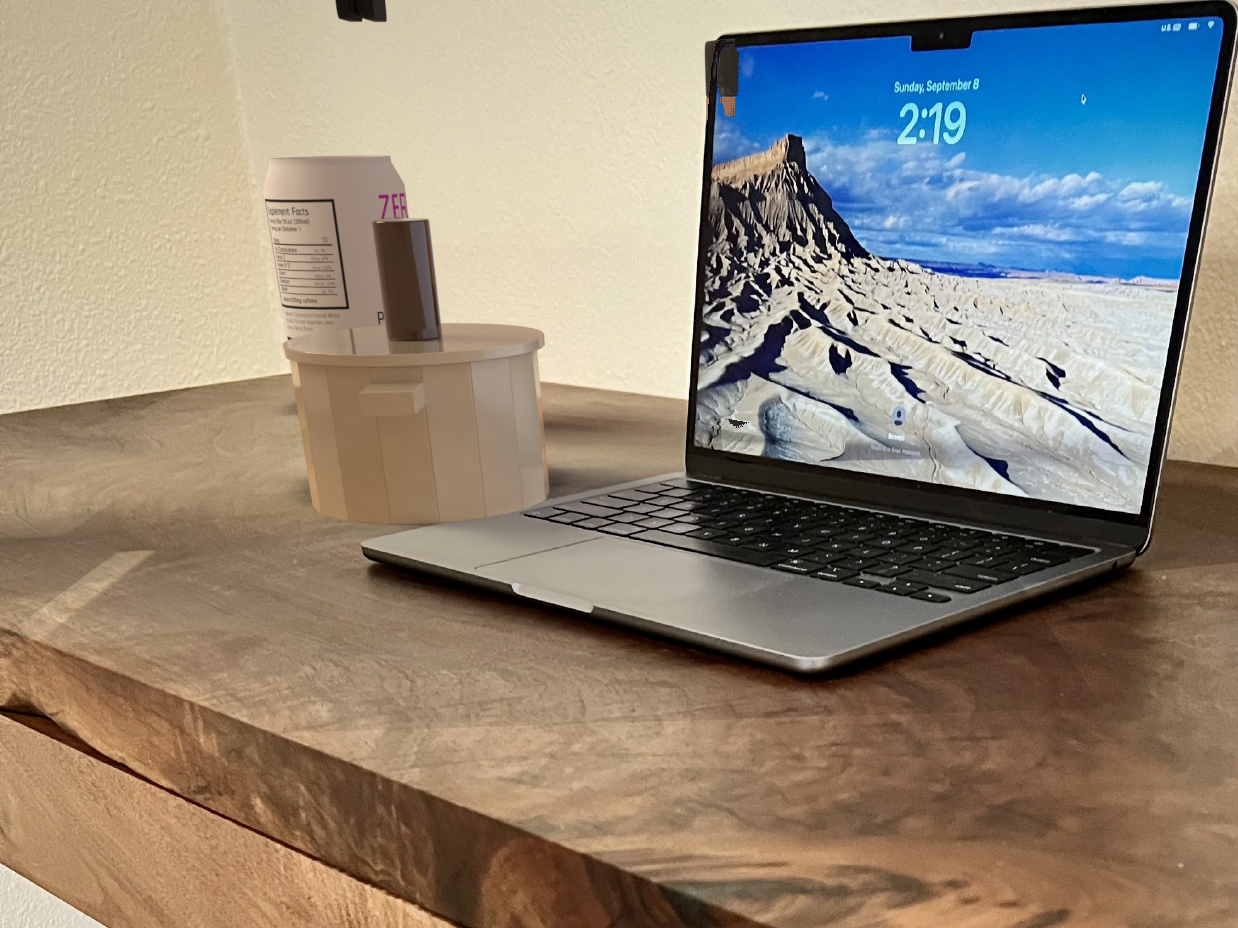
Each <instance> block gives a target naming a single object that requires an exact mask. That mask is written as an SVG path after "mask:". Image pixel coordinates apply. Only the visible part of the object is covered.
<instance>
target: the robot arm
mask: <svg viewBox="0 0 1238 928" xmlns="http://www.w3.org/2000/svg"><path fill="white" fill-rule="evenodd" d="M334 2H335V8H336V15H337V18H338V19H339V20H342V21H346V22H349V23H362V22H363V19H364V20H366V21H369V22H373V23H387V20H388V16H387V15H388V14H387V4H386V0H335V1H334Z"/></svg>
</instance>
